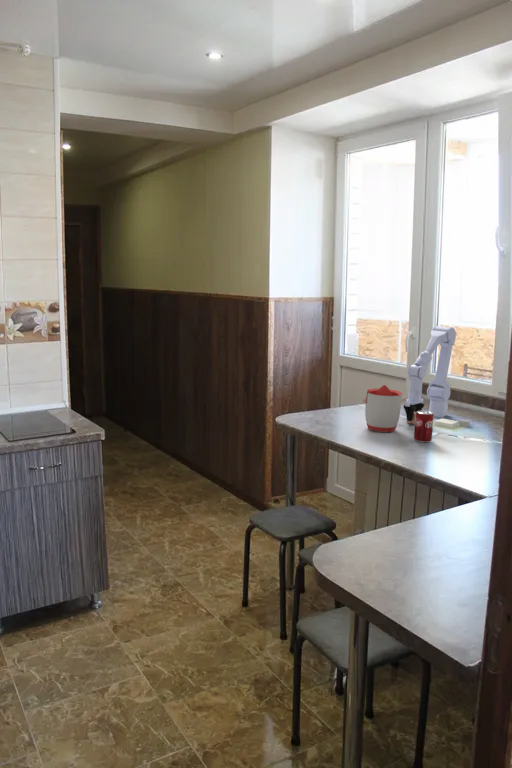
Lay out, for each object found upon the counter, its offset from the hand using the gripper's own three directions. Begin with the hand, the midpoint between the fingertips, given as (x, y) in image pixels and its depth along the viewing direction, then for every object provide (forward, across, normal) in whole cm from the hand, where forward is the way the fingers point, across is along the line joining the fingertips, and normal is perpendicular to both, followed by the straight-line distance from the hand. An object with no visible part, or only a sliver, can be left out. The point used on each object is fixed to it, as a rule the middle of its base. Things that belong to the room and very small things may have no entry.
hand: (412, 419), depth 300 cm
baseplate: (+1, -3, +15) cm, 15 cm away
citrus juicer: (+2, +24, -4) cm, 24 cm away
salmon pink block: (+2, 0, 0) cm, 2 cm away
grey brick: (0, -9, +21) cm, 23 cm away
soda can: (+2, +27, +18) cm, 32 cm away
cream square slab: (0, -3, +15) cm, 15 cm away
